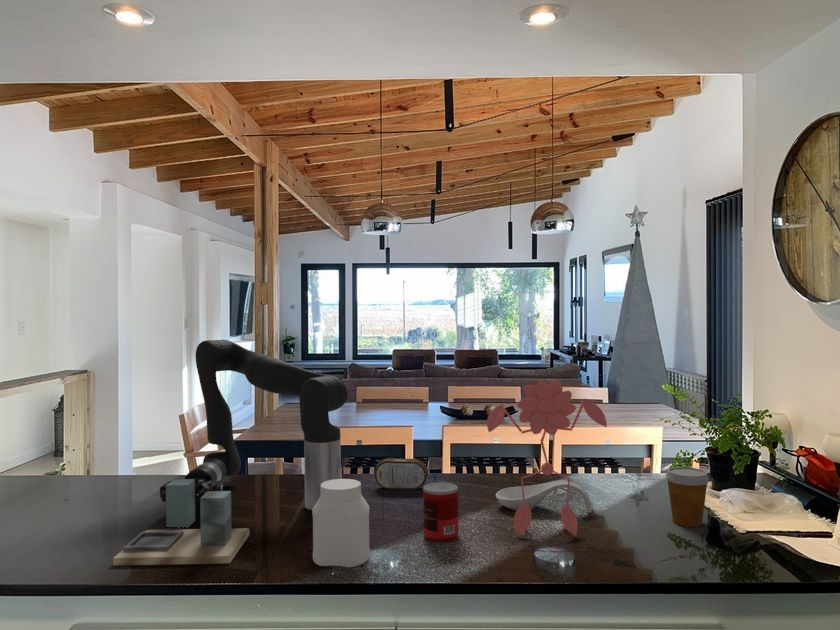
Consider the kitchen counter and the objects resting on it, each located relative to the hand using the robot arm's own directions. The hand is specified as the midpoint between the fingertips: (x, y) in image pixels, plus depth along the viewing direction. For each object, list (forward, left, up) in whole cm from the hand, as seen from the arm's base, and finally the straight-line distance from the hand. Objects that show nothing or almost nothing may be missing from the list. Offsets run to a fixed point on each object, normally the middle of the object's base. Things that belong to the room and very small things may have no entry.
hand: (181, 497), depth 151 cm
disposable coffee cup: (-119, +6, -6) cm, 119 cm away
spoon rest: (-88, -7, -7) cm, 88 cm away
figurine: (-84, +15, -6) cm, 86 cm away
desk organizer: (-7, +17, -6) cm, 19 cm away
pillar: (0, +1, -6) cm, 6 cm away
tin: (-52, -26, -6) cm, 59 cm away
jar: (-40, +23, -6) cm, 47 cm away
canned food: (-61, +12, -6) cm, 62 cm away
